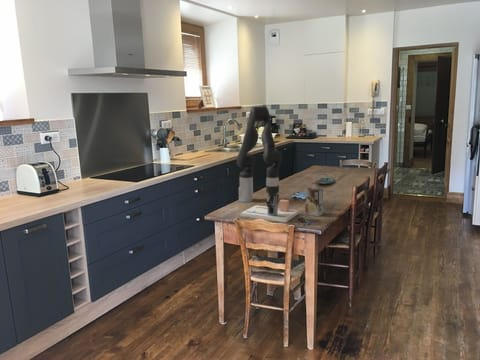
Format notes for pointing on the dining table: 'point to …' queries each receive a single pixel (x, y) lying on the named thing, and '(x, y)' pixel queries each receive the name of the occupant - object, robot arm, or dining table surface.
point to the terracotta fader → (284, 205)
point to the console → (262, 213)
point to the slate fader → (274, 210)
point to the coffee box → (314, 201)
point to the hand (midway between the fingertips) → (272, 212)
